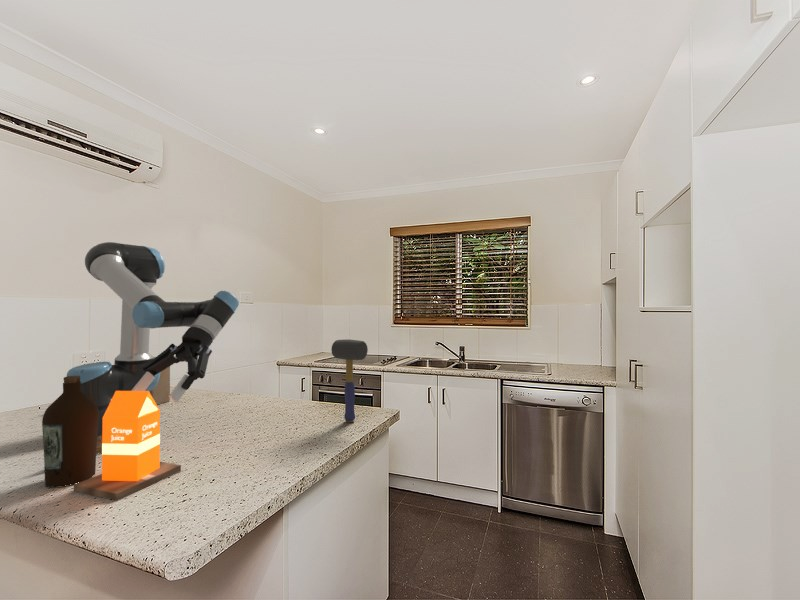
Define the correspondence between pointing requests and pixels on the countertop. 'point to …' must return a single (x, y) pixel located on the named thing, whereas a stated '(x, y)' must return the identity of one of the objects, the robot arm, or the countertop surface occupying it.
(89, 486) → the board
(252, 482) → the countertop surface
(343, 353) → the rubber mallet
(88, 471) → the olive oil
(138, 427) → the orange juice
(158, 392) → the wooden block
